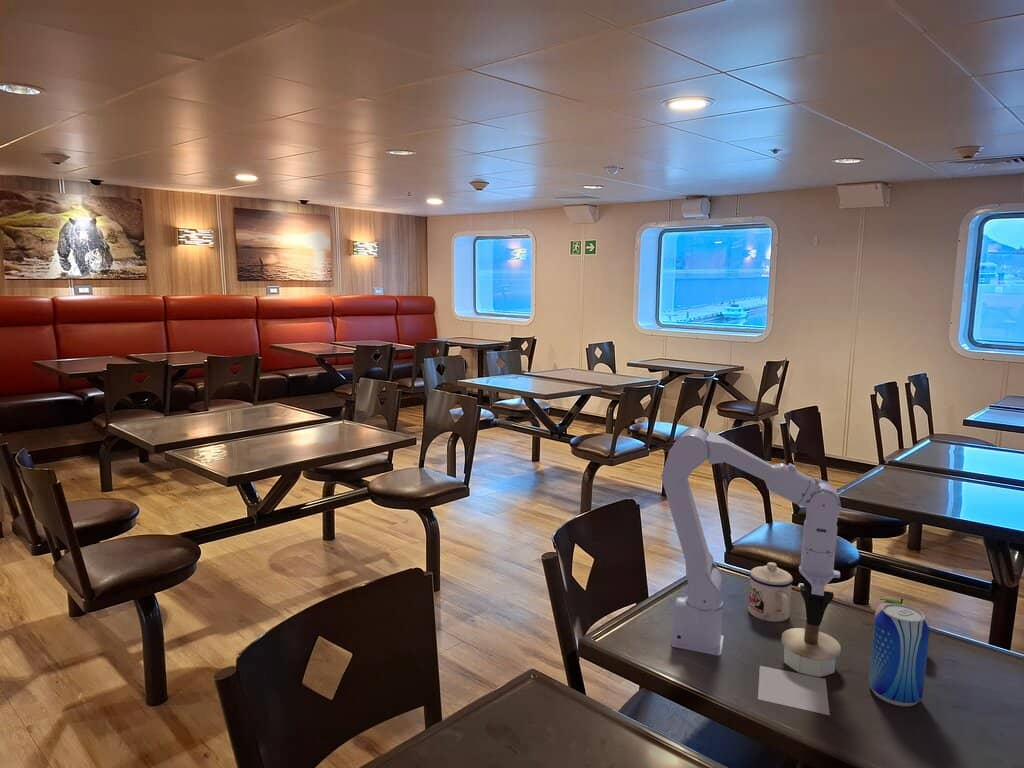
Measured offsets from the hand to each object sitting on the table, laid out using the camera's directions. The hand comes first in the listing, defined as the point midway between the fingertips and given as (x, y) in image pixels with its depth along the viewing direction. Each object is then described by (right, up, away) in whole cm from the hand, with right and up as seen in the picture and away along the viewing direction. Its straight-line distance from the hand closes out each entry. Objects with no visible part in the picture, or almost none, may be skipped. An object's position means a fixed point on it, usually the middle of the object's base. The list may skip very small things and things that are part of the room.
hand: (812, 615), depth 131 cm
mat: (-7, -11, -7) cm, 15 cm away
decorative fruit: (+21, -9, +9) cm, 25 cm away
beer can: (+11, -12, -8) cm, 18 cm away
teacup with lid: (0, -7, +21) cm, 22 cm away
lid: (0, -6, +1) cm, 6 cm away
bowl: (0, -10, +1) cm, 10 cm away
